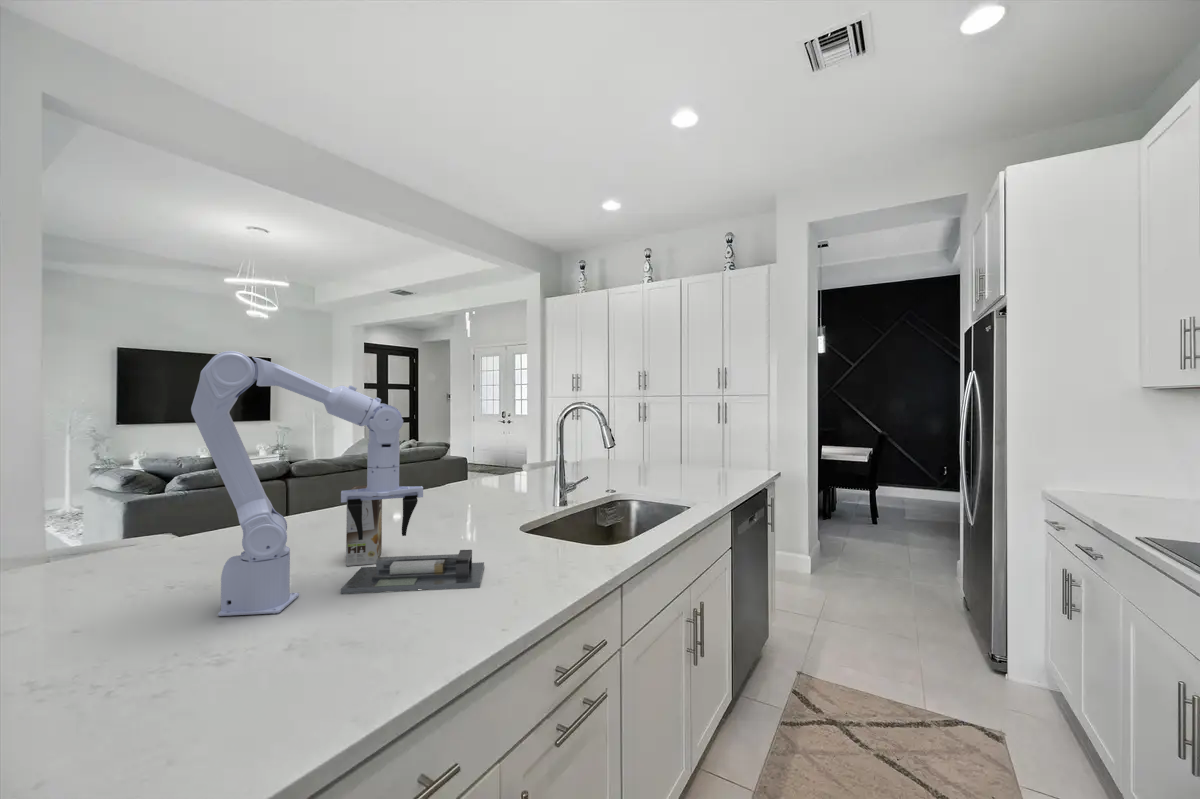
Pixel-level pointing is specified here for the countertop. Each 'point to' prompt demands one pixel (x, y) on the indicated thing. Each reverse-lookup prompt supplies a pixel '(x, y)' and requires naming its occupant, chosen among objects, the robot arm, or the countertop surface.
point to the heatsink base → (455, 575)
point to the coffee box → (365, 533)
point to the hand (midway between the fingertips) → (382, 536)
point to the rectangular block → (417, 567)
